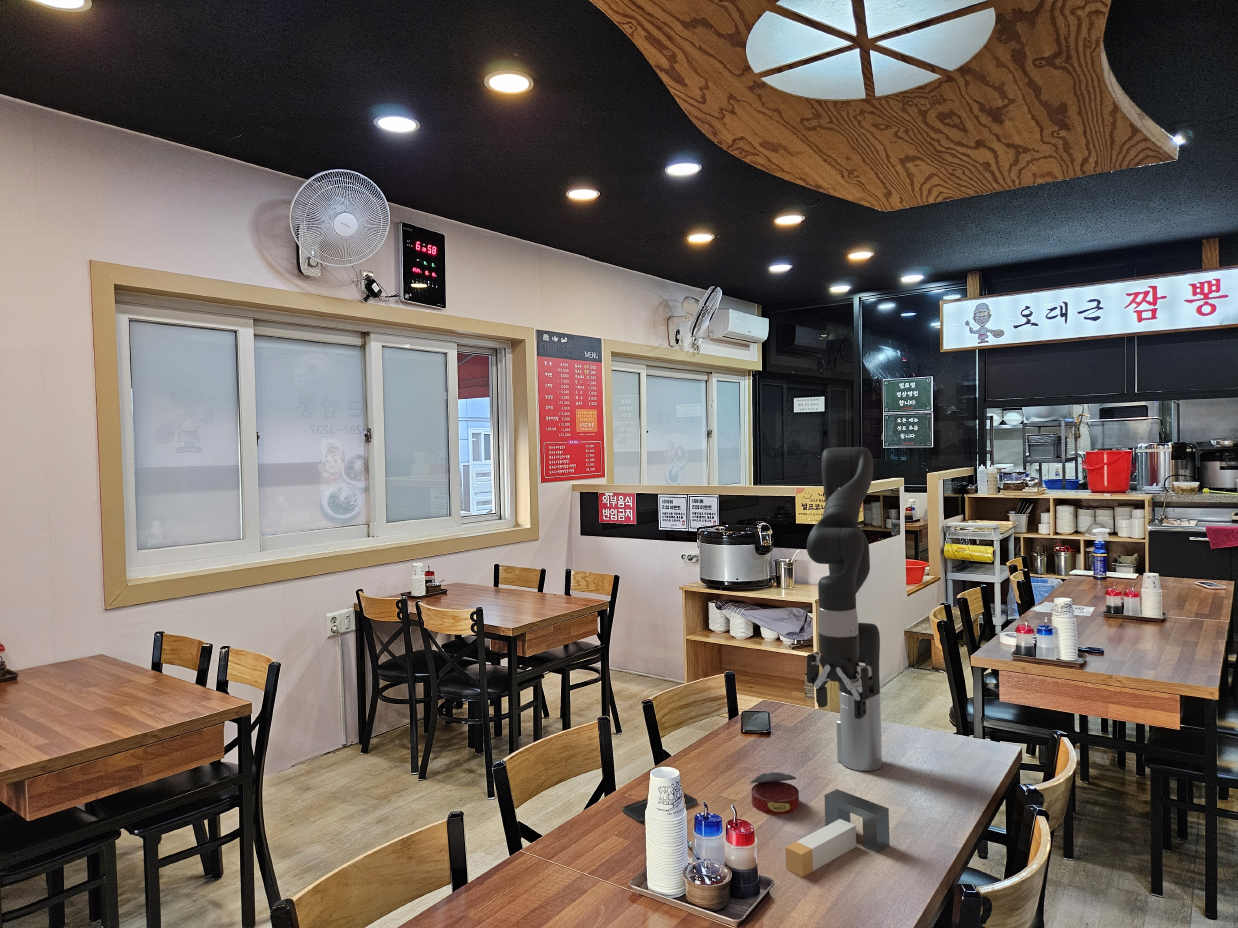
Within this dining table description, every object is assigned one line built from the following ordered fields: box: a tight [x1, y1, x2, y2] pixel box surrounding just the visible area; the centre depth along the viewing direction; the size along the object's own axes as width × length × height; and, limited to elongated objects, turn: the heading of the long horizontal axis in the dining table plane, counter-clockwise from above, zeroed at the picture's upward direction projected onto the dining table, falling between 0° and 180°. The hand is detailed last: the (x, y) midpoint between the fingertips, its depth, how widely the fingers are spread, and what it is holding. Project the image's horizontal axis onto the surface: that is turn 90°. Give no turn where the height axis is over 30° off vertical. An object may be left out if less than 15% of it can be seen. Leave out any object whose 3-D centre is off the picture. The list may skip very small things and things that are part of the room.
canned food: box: [749, 771, 800, 816], centre depth 166 cm, size 11×10×10 cm
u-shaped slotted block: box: [824, 788, 891, 853], centre depth 150 cm, size 12×4×7 cm, turn 39°
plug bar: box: [785, 819, 857, 878], centre depth 144 cm, size 4×16×4 cm, turn 129°
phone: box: [622, 792, 698, 825], centre depth 166 cm, size 8×1×15 cm
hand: (840, 711), depth 153 cm, fingers open, 8 cm apart
